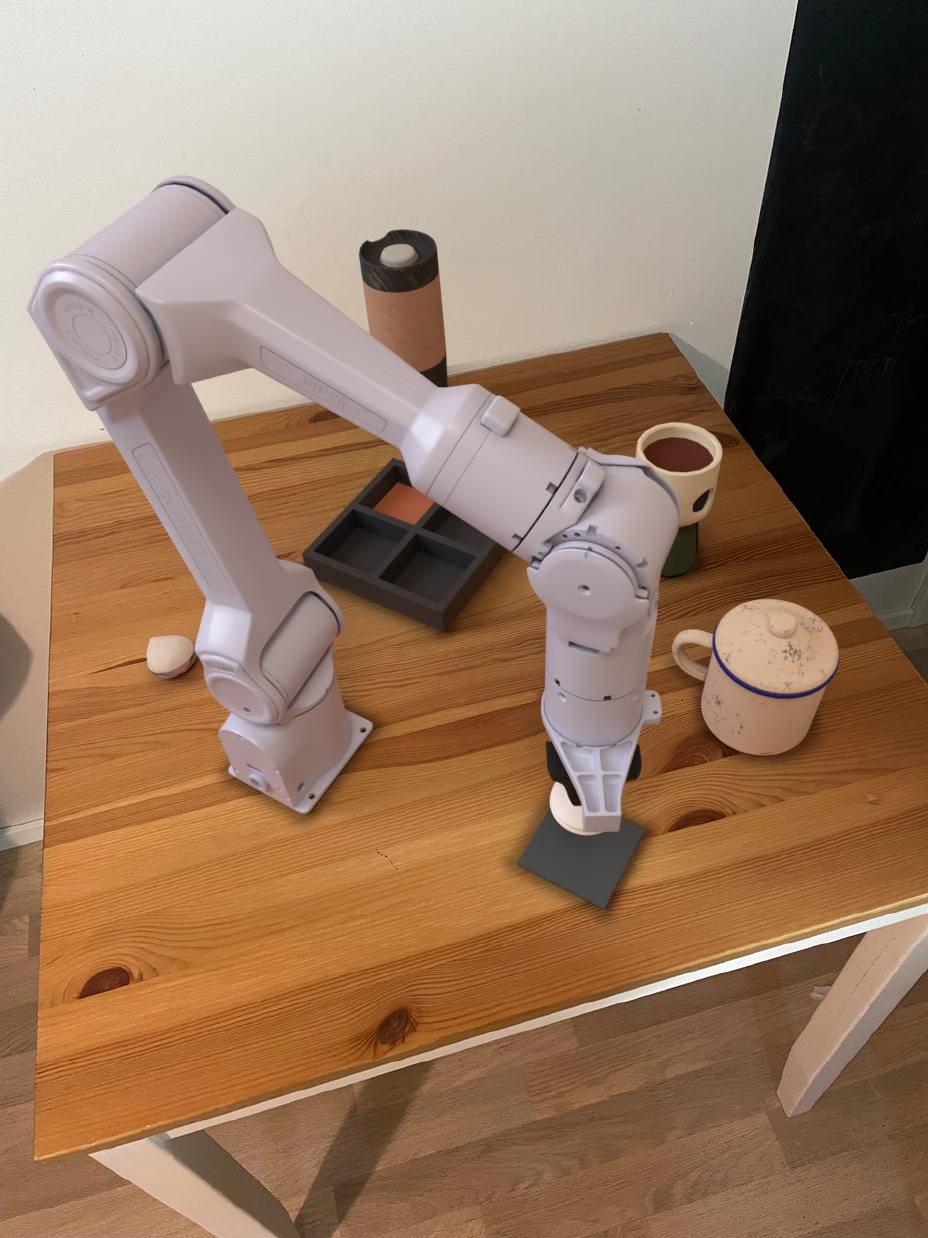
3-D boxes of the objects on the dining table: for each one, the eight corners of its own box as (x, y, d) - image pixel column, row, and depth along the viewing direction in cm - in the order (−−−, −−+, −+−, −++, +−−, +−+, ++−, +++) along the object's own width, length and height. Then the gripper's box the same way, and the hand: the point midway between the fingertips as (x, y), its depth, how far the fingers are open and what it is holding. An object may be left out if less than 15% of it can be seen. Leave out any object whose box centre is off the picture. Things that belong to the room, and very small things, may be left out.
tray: (444, 632, 82) (442, 612, 80) (307, 573, 88) (301, 553, 86) (526, 526, 91) (526, 504, 88) (395, 478, 96) (392, 457, 94)
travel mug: (445, 443, 99) (429, 270, 84) (376, 439, 101) (348, 267, 85) (456, 400, 104) (444, 229, 89) (390, 397, 105) (367, 227, 90)
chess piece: (621, 773, 65) (634, 695, 57) (621, 838, 62) (633, 764, 54) (551, 768, 66) (554, 689, 58) (547, 832, 63) (549, 758, 55)
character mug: (686, 606, 83) (708, 499, 73) (609, 587, 85) (620, 480, 75) (712, 526, 89) (735, 417, 79) (640, 510, 91) (653, 401, 81)
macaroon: (168, 691, 80) (159, 674, 78) (135, 661, 82) (126, 644, 80) (208, 661, 82) (200, 643, 80) (175, 633, 84) (166, 615, 82)
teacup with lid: (824, 690, 76) (862, 596, 67) (797, 777, 71) (834, 688, 62) (683, 643, 80) (701, 549, 71) (647, 723, 75) (663, 632, 66)
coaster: (604, 910, 65) (604, 908, 65) (517, 865, 68) (517, 863, 67) (644, 831, 69) (645, 829, 69) (560, 791, 71) (560, 789, 71)
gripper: (688, 772, 46) (660, 887, 57) (653, 562, 56) (634, 694, 66) (547, 774, 47) (544, 888, 57) (536, 566, 56) (535, 696, 66)
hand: (585, 784), depth 62 cm, fingers closed on chess piece
